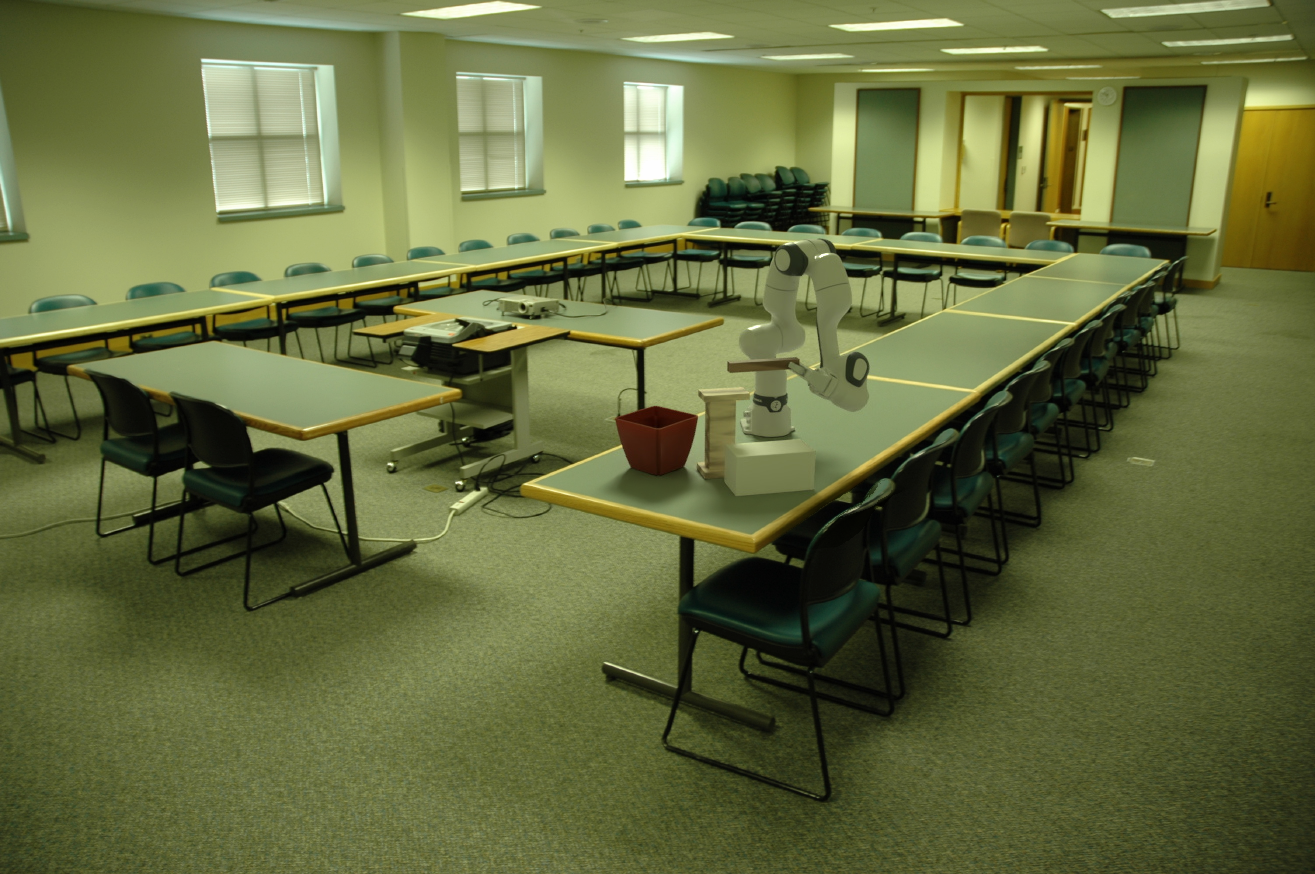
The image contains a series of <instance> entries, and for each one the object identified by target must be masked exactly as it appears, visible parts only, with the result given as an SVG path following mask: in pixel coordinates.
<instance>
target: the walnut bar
mask: <svg viewBox="0 0 1315 874" xmlns="http://www.w3.org/2000/svg"><path fill="white" fill-rule="evenodd" d="M789 361H791V362H793V363H794V364H796V365H800V363H801V360H800V358H798V357H797V356H796V357H795V356H793V357H776V358H773V359H755V360H750V359H744V360H743V359H741V360H728V361H726V362H727V363H726V364H727V365H726V367H727V368H726V371H727V372H728V373H730V374H733V373H734V374H737V373H751V372H754V373H755V371H772V370H786V371H788V370H789V369H791V368H789V367H788V366H787V364H788V362H789ZM789 371H790V370H789Z"/></svg>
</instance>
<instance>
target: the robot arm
mask: <svg viewBox="0 0 1315 874" xmlns="http://www.w3.org/2000/svg"><path fill="white" fill-rule="evenodd" d="M805 275H807V276H808V277H809V278H810V279H811V281H812V284H813V289H814V294H815V295H814V296H815V298H816V317H815V319H816V320H815V325H816V334H817V341H818V342H817V343H818V349H819V356H820V357H819V358H820V362H819V367H816V368H814V369H813V368H812V367H809V366H808V365H806V364H804V363H802V362H800V365H796V364H794V363H793V362H791V361H789V362H788V364H787V366H788V367H789V368H791V369H789V371H791V372H792V373H794V374H795V375H797V376H798V377H799V378H801V379H803V380H804V381H806V383H807V386H808V389H809V392H811V393H812V394H814V395H815V396H818V397H820V398H821V399H823V400H825V401H829V402H830V403H832V405H834V406H836V407H838V408H840V409H841V410H842V409H843V410H845V411H847V412H851V413H855V412H859V411H861V410H862V409H864V408H865V406H866V405H867V404H868V401H869V400H870V393H869V390H868V376H869V373H870V368H871V367H870V363H869V360H868V358H867V357H866V356H865V355H864V354H863V353H862V352H860V351H852V352H849V353H844V354H842V355H841V354H840V349H839V343H838V342H839V341H838V333H837V331H838V330H837V329H838V325H839V324H840V321H841V320H842V318H843V317H844V316H845V315H846V314H847V313H848V312H849V310H850V308H851V306H852V303H853V293H852V288H851V284H850V280H849V276H848V274H847V271H846V268H845V265H844V263H843V261H842V258H841V257H840V256H839V255H838V254H837V249H836V246H835V245H834V243H833V242H832V241H830V240H828V239H825V238H805V239H801V240H796V241H789V242H786V243H783V244H781V245H779V247H777V248H776V250H775V252H774V256H773V257H772V260H771V262H770V265H769V268H768V271H767V274H766V279H765V284H764V291H763V296H762V297H763V298H762V305H763V308H764V310H765V311H766V312H768V313H769V314H770V315H771V318H770V322H767V323H762V324H761V323H760V324H754V325H751V326H749V327H746V328H744V329H742V331H741V333H740V334H739V337H738V346H739V348H740V350H741V352H742V353H743V354H744V355H745V356H746V357H747V358H748V360H755V359H773V358H777V355H779V354H787V353H791V352H794V351H796V350H799V349H800V348H802V347H803V346H804V344H805V341H806V331H805V328H804V326H803V325H802V324H801V322H799V321H798V318H797V314H796V305H797V304H796V303H797V298H798V297H797V296H798V291H799V285H800V279H801V277H803V276H805ZM787 386H788V372H787V370H772V371H755V372H754V392H753V395H752V402H751V404H749V406H747V408H746V410H745V411H743V418H740V421H739V423H740V426H741V428H742V432H743V433H744V434H747V435H755V436H759V437H767V438H770V437H771V438H773V437H777V438H778V437H783V436H786V435H789V434H790V433H791V432H793V431H795V430H796V427H795V426H794V425H792V409H791V407H790V406H789V405H788V400H789V394H788V390H787V388H788V387H787Z"/></svg>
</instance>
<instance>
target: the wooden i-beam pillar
mask: <svg viewBox="0 0 1315 874" xmlns="http://www.w3.org/2000/svg"><path fill="white" fill-rule="evenodd" d="M697 395H698V397H699V398H700V399H701V400H702V401H703V402H704V404H705V405H704V406H705V407H704V408H705V409H704V461H699V462H698V461H697V462H696V469H697V471H698V472H699V473H700V475H701V476H702V477H703V479H704V480H708V479H709V480H710V479H720V478H721V479H723V478H724V477H725V445H726V444H736V427H737V426H736V424H737V423H736V422H737V421H736V420H737V418H736V417H737V416H736V414H737V413H736V412H737V401H748V400H749V401H750V400H751V393H750V392H749V391H748V390H747V389H745V388H744V387H743V386H734V387H719V388H718V387H717V388H702V389H701V388H699V389H697Z"/></svg>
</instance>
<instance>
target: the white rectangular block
mask: <svg viewBox="0 0 1315 874" xmlns="http://www.w3.org/2000/svg"><path fill="white" fill-rule="evenodd" d="M816 454H817V453H816V450H815V449H814V448H813V447H811V446H810V445H809V444H807V442H806V441H804V439H802V438H796V439H784V440H783V439H782V440H771V441H770V440H769V441H756V442H755V441H754V442H753V441H752V442H742V443H735V444H726V445H725V477H724V482H723V483H725V484H726V486H727V487H728V489H729V490H730V491H731V493H733V495H734V496H735V497H741V496H742V497H744V496H745V497H746V496H755V495H766V494H767V495H768V494H777V493H778V494H779V493H791V492H799V491H813V490H815V473H816V472H815V470H816Z"/></svg>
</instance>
